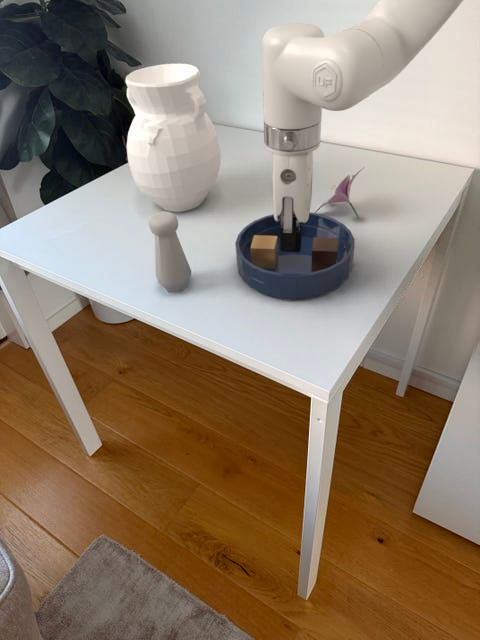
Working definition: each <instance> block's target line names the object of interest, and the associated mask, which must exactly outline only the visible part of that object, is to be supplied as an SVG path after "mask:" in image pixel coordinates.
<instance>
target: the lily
mask: <svg viewBox="0 0 480 640" xmlns="http://www.w3.org/2000/svg"><path fill="white" fill-rule="evenodd" d="M364 169H365V166H363V167H361V169H359V170H358V171H357V172H356V173H355V174H353V175H351V176H350V174H348V175H347V176H345V177H344V179H343V180H341V181H340V183H339V184H338V185H337V186H336V184H335V185H333V186H332V187H330V189H331V190H334V194H333V195H332V196H331V197H330V198H329V199H328V201H326V202H324V203H323V204H321V205H320V206H319V207H318V208H316V210H315V211H314V213H316V214H317V213H318V211H320V210H321V208H323V207H324V206H327V205H329V204H330V205H332V204H338V203H347V204H349V205H350V207H351V209H352V210H353V212H354V214H355V216H356V218H357V220H360V216H359V215H358V212H357V211H356V209H355V207H354V205H353V203H351V200H350V193H351V192H350V191H351V186H352V184H353V182H354V180H355V178H356V177H357V176H358V175H359V173H361V171H362V170H364Z"/></svg>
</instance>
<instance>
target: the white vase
mask: <svg viewBox="0 0 480 640" xmlns="http://www.w3.org/2000/svg"><path fill="white" fill-rule="evenodd" d="M200 81H201V71H200V70H199V69H198V67H196V66H194V65H192V64H190V63H164V64H163V63H162V64H156V65H151V66H146V67H142V68H139V69H136V70H133V71H131V72H130V73H128V74H127V75H126V77H125V84H126V86H127V88H126V98H127V101H128V102H129V104H130V106H131V108H132V109H133V112H134V115H135V116H134V117H133V119H132V122H131V124H130V126H129V129H128V132H127V139H126V140H127V141H126V155H127V162H128V166H129V169H130V173H131V176H132V179H133V182H134V183H135V185H136V186H137V188H138V189H139V191H140V192H141V193H142V194H143V195H144V196H145V197H146V198H147V199H148V200H149V201H151V202H153V203H155V204H156V205H157V206H158V207H160V208H161V209H163V210H165V211H166V212H171V213H182V212H187V211H192V210H193V209H196V208H198V207H199V206H201V204H202V203H203V202H204V200H205V199H207V196H208V194H210V192H211V190H212V188H213V187H214V185H215V183H216V181H217V179H218V177H219V172H220V169H221V147H220V146H221V145H220V142H219V138H218V133H217V130H216V128H215V127H216V126H215V125H214V123H213V122H212V120H211V118H210V116H209V115H208V113H207V112H206V110H207V100H206V96H205V94H204V93H203V91H202V90H201V89H200V87H199V86H200Z"/></svg>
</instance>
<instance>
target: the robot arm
mask: <svg viewBox="0 0 480 640" xmlns="http://www.w3.org/2000/svg"><path fill="white" fill-rule="evenodd" d="M463 2H464V0H378V2H377V3H376V4H375V5H374V7H373V9H372V10H371V11H370V12H369V14H368V15H367V16H366V17H365V18H364V19H363V20H362V21H361V22H359V23H357V24H354V25H352V26H350V27H347V28H345V29H343V30H341V31H338V32H335V33H333V34H330V35H327V36H325V33H324V31H323V30H322V28H320V27H319V26H318V25H314V24H311V23H301V22H299V23H297V22H296V23H285V24H278V25H276V26H273V27H271V28H269V29H268V30H267V31H266V32H265V33H264V35H263V38H262V41H261V71H262V72H261V73H262V108H263V109H262V111H263V114H262V115H263V145H264V146H263V147H264V148H265V149H266V150H267V152H270V153H272V206H273V208H272V209H273V214H274V219H275V220H276V221H277V222H278V221H279V220H280V218H281V228H280V250H281V251H282V252H300V251H301V241H302V225H300V224H301V222H303V223H306V222H307V221H308V219H309V213H311V207H312V198H313V197H312V196H313V170H314V151H316V150H318V149H319V147H320V146H321V136H322V134H321V133H322V132H321V131H322V116H323V109H324V110H327V111H331V112H342V111H346V110H349V109H351V108H353V107H355V106H356V105H358V104H359V103H361V102H363V101H364V100H365V99H367V98H369V97H370V96H371V95H373V94H374V93H375V92H377V91H379V90H380V89H382V88H383V87H384V86H386V85H388V84H390V83H391V82H393V80H394V79H396V78H397V77H398V76H399V75H400V74H401V72H403V71H404V70H405V69H406V68H407V66H408V65H409V64H410V63H411V62H412V61H413V60H414V59H415V57H416V56H418V54H419V53H420V52H421V51H422V50H423V49H424V48H425V47H426V45H428V43H429V42H430V41H431V40H432V39H433V38H434V37H435V36H436V34H437V33H438V32H439V31H440V30H441V29H442V28H443V26H444V25H445V24H446V23H447V22H448V21H449V19H450V18H451V17H452V16H453V14H454V13H455V11H456V10H457V9H458V8H459V6H460V5H461V4H462V3H463Z"/></svg>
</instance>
